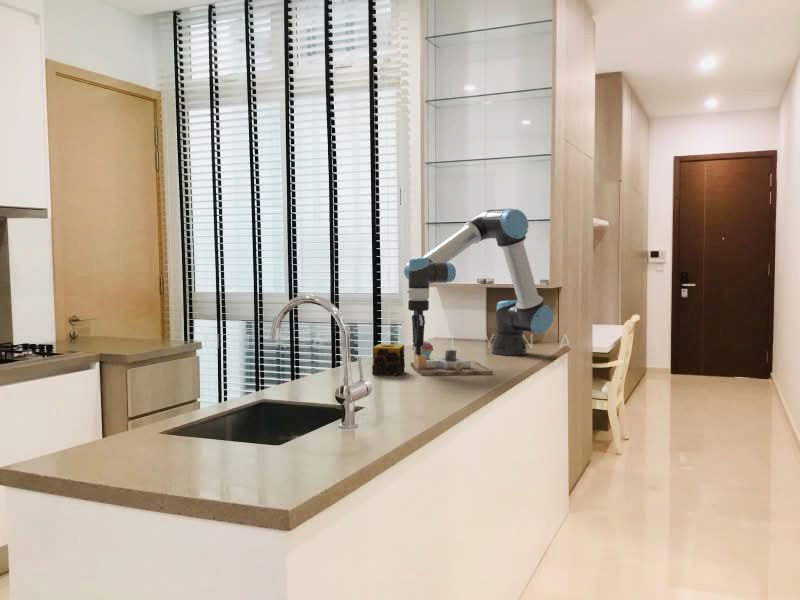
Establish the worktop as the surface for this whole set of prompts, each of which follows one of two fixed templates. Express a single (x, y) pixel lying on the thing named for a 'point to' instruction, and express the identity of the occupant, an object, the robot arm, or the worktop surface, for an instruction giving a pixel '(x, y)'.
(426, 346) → the cupcake
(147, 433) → the worktop surface
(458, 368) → the dowel
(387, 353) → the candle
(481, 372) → the base board
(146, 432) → the worktop surface
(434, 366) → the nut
